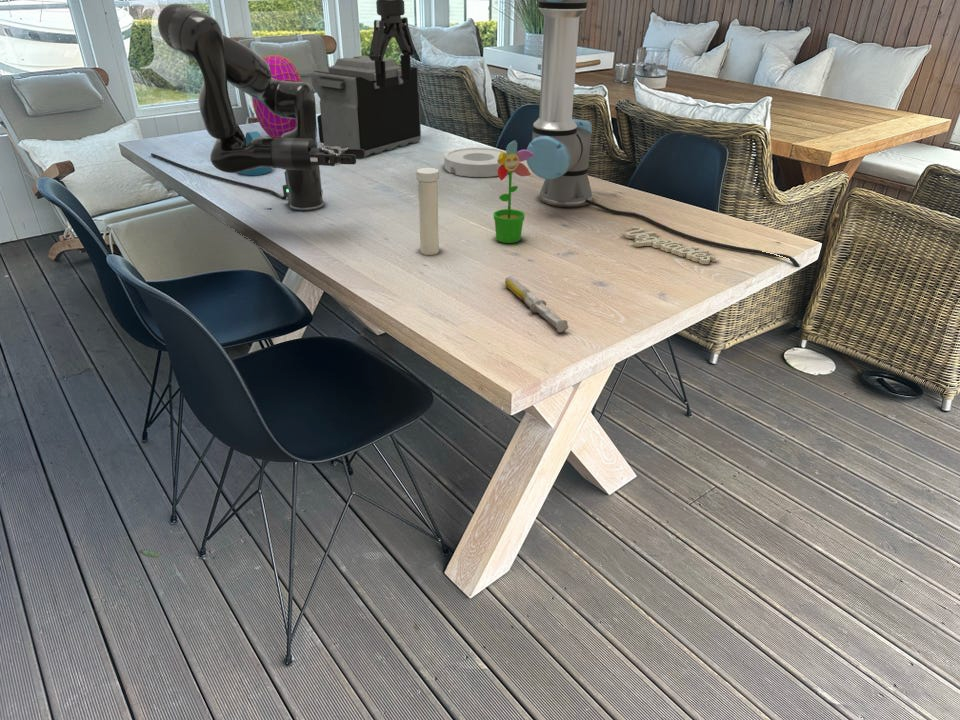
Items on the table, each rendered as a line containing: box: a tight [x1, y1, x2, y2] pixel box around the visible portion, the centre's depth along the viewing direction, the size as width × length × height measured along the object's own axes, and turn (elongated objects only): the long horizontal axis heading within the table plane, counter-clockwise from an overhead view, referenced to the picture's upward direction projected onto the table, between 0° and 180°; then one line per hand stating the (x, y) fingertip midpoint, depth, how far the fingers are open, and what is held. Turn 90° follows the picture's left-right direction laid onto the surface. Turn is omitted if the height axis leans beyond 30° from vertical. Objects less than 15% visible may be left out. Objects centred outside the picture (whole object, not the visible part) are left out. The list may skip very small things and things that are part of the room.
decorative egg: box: [251, 54, 303, 138], centre depth 257 cm, size 19×19×30 cm
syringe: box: [504, 275, 569, 334], centre depth 140 cm, size 25×4×3 cm, turn 21°
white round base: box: [443, 146, 509, 178], centre depth 232 cm, size 23×23×4 cm
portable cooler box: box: [310, 55, 422, 158], centre depth 250 cm, size 37×22×30 cm, turn 144°
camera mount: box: [237, 131, 272, 176], centre depth 226 cm, size 18×10×10 cm, turn 35°
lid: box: [415, 167, 440, 182], centre depth 157 cm, size 5×5×2 cm
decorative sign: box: [624, 226, 717, 265], centre depth 170 cm, size 26×1×10 cm
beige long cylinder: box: [417, 180, 440, 256], centre depth 162 cm, size 4×4×19 cm
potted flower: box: [493, 139, 534, 244], centre depth 168 cm, size 9×8×25 cm
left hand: (360, 156), depth 166 cm, fingers open, 8 cm apart
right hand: (394, 83), depth 195 cm, fingers open, 13 cm apart
